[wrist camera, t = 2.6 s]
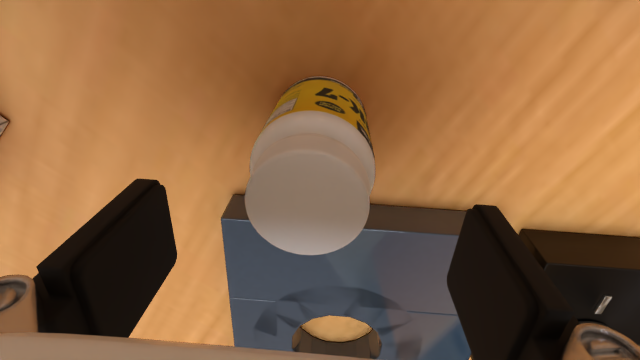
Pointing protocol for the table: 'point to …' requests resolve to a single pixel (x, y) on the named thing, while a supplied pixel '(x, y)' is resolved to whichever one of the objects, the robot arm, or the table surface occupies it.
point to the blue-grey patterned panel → (350, 286)
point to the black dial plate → (593, 275)
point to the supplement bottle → (312, 169)
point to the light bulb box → (3, 124)
